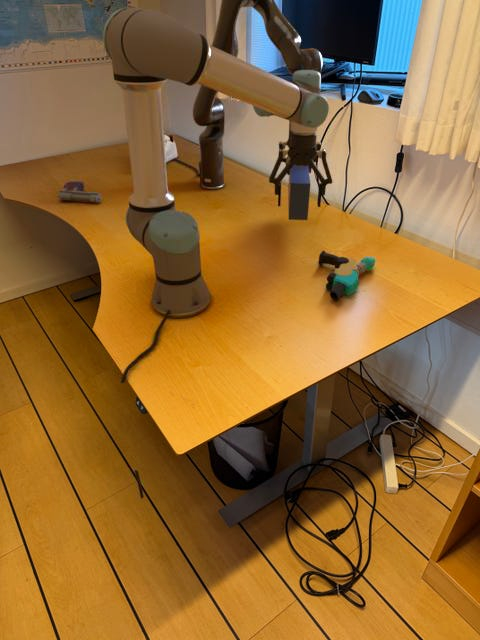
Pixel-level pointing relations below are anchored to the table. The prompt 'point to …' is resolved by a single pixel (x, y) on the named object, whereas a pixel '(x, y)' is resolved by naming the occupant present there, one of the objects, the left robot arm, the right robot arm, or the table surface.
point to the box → (298, 193)
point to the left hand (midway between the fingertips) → (298, 204)
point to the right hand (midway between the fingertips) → (297, 174)
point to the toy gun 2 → (344, 273)
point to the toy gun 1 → (78, 193)
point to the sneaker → (170, 147)
